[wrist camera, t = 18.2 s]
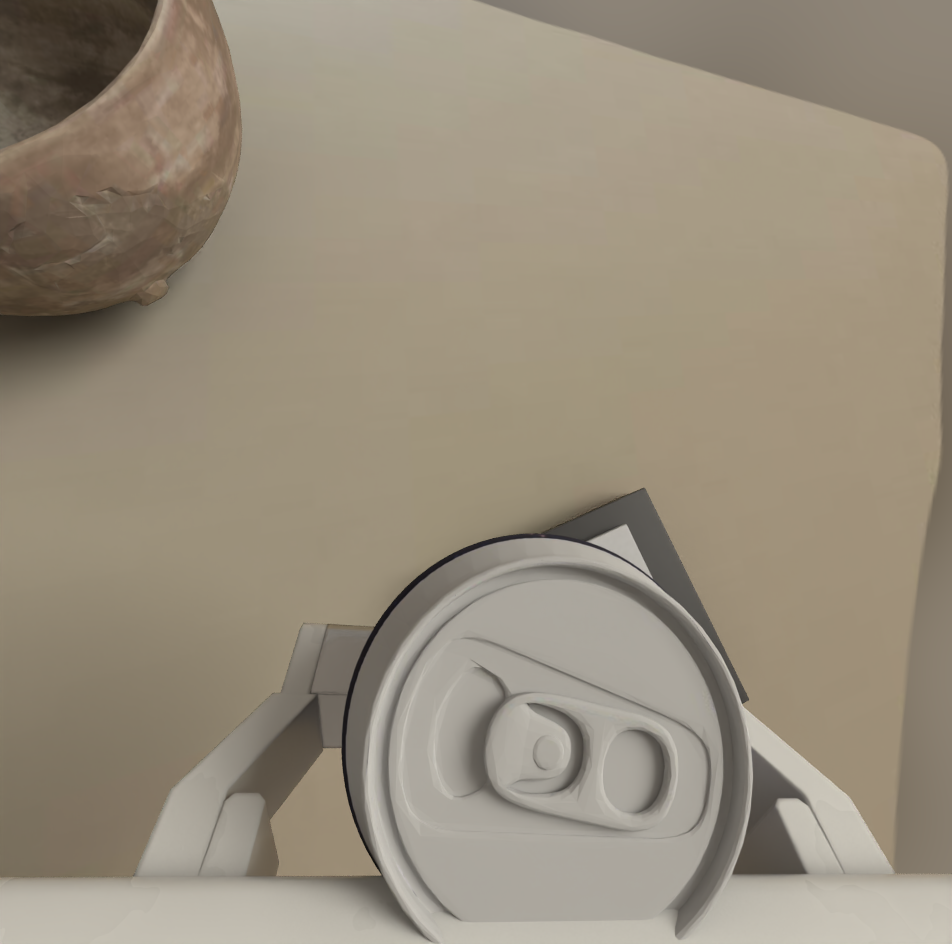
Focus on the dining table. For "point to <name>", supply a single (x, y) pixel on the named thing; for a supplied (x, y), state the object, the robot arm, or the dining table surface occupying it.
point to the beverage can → (545, 743)
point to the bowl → (110, 148)
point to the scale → (645, 554)
